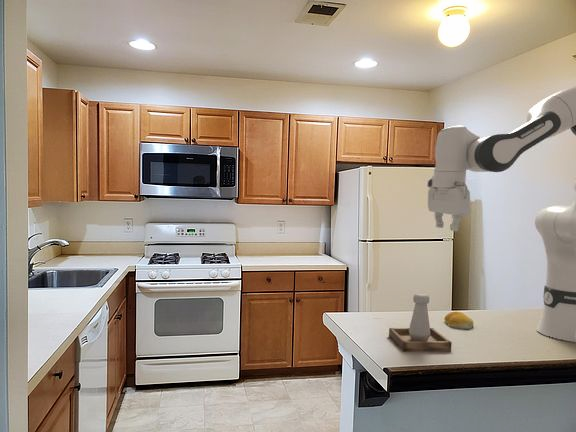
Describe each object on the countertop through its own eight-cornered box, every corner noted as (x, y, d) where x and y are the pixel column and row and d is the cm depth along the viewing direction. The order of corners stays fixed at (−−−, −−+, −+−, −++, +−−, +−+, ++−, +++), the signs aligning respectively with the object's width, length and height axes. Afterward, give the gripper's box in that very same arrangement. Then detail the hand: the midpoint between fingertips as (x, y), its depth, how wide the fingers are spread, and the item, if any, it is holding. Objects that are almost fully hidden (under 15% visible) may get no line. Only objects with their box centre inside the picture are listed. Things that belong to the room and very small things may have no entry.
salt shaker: (430, 345, 123) (433, 297, 122) (408, 342, 124) (411, 295, 123) (428, 338, 128) (431, 292, 127) (407, 336, 129) (410, 291, 129)
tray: (432, 336, 133) (432, 327, 133) (451, 351, 121) (451, 342, 121) (388, 336, 131) (389, 328, 131) (403, 351, 119) (404, 342, 119)
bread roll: (452, 330, 140) (453, 317, 140) (441, 321, 149) (441, 309, 149) (478, 330, 140) (479, 317, 140) (465, 321, 149) (466, 309, 149)
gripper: (478, 182, 123) (474, 233, 124) (444, 182, 143) (441, 226, 144) (455, 181, 122) (452, 232, 123) (425, 181, 143) (422, 225, 144)
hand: (446, 229), depth 134 cm, fingers open, 8 cm apart
